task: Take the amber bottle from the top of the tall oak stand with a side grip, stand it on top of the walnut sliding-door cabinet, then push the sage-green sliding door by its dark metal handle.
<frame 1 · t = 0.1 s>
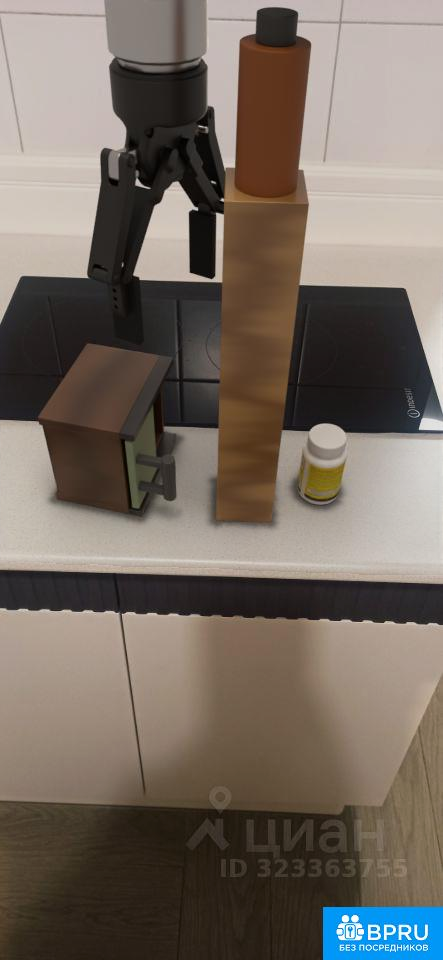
hand: (168, 305, 66), 20 cm above the counter, tool pointing down, fingers open, 13 cm apart
supplement bottle: (317, 491, 76), on the counter
sliding door: (160, 459, 70), point 6 cm above the counter, slide at 0.0 cm
cabinet: (115, 466, 78), on the counter
stand: (243, 500, 74), on the counter
amber bottle: (265, 184, 49), point 35 cm above the counter, touching stand
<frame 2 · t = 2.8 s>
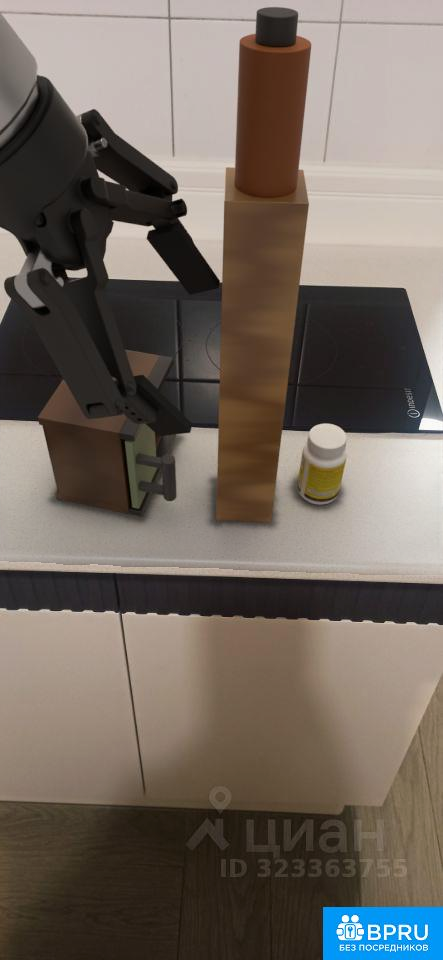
hand: (191, 355, 51), 25 cm above the counter, tool tilted 30°, fingers open, 12 cm apart
nothing on the counter moved.
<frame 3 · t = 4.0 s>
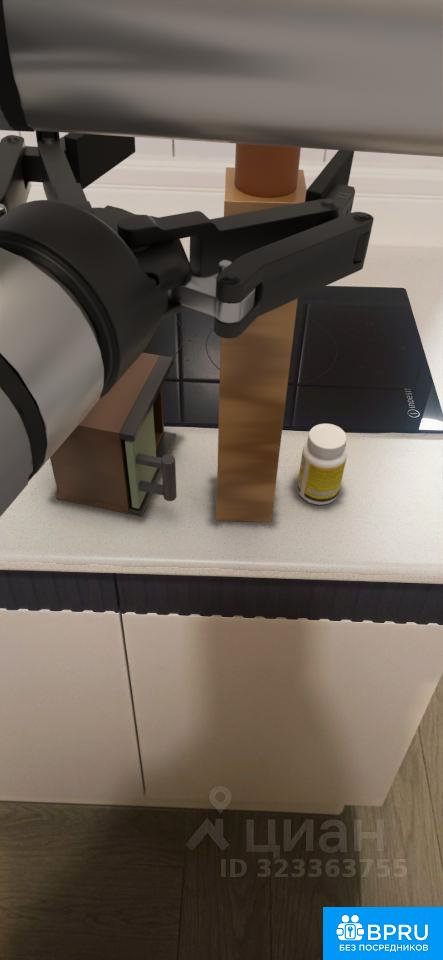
hand: (232, 149, 39), 40 cm above the counter, tool horizontal, fingers open, 13 cm apart
nothing on the counter moved.
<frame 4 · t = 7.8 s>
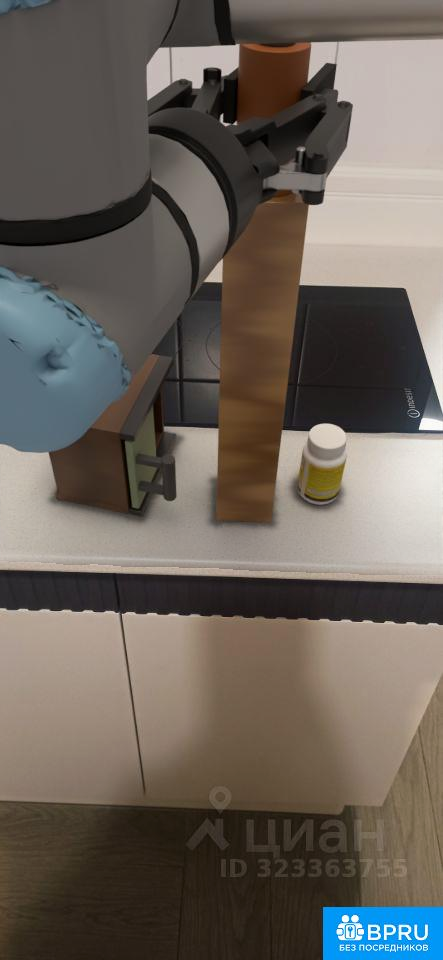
hand: (293, 80, 48), 40 cm above the counter, tool horizontal, fingers closed on amber bottle, 5 cm apart
amber bottle: (265, 184, 49), point 35 cm above the counter, touching gripper, stand
everything else where it was.
when the fingers open (17 cm above the counter, at t = 16.5 s): amber bottle stays where it is, resting on cabinet.
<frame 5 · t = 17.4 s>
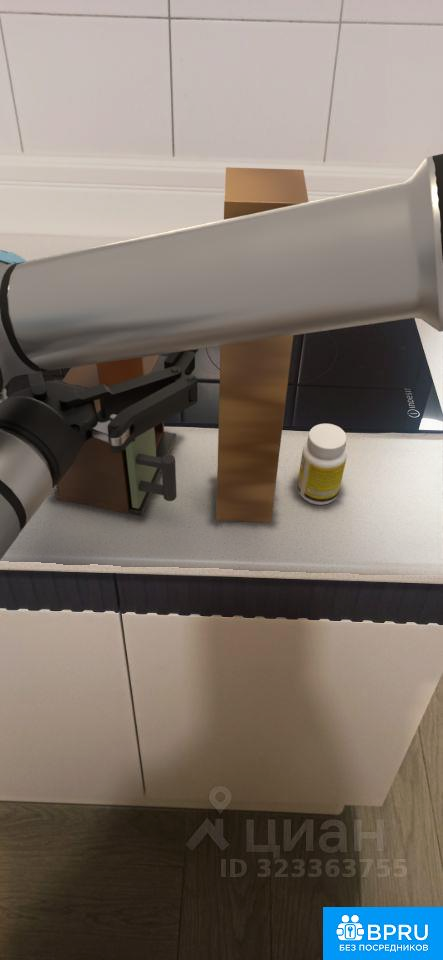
hand: (132, 321, 66), 18 cm above the counter, tool horizontal, fingers open, 13 cm apart
amber bottle: (122, 388, 69), point 12 cm above the counter, touching cabinet
everything else where it was.
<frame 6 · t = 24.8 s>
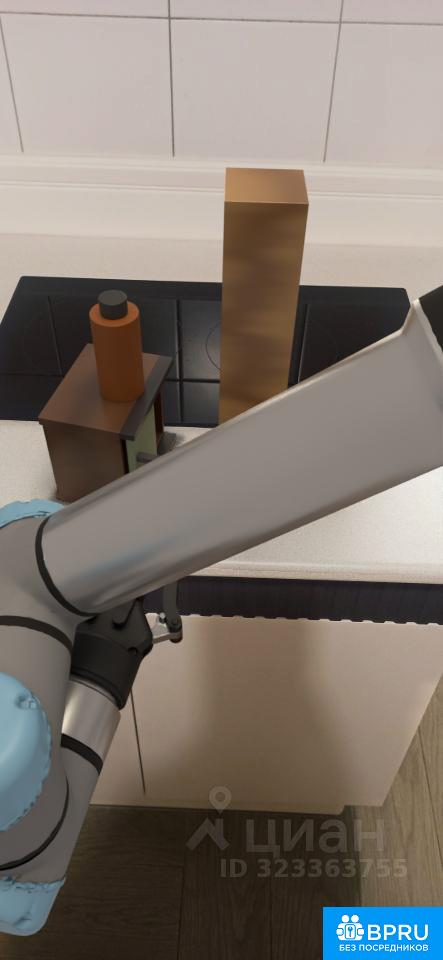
hand: (166, 483, 68), 6 cm above the counter, tool horizontal, fingers closed
sliding door: (161, 457, 70), point 6 cm above the counter, slide at 0.3 cm, touching gripper
everything else where it was.
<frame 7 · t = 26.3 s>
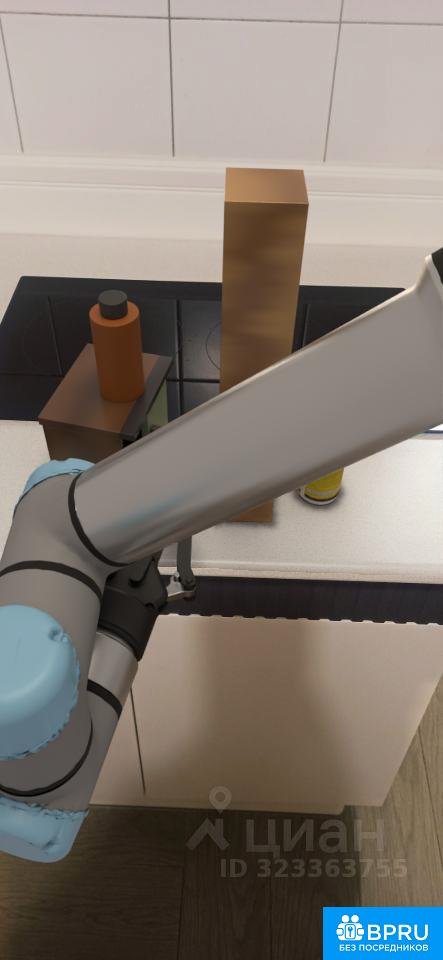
hand: (178, 454, 71), 6 cm above the counter, tool horizontal, fingers closed
sliding door: (172, 431, 73), point 6 cm above the counter, slide at 4.5 cm, touching gripper
everything else where it was.
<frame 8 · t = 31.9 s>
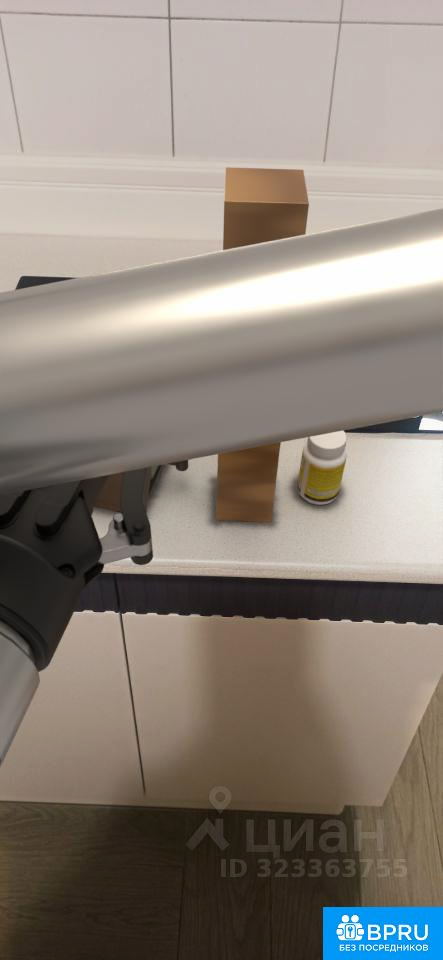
hand: (137, 349, 46), 28 cm above the counter, tool horizontal, fingers closed
sliding door: (172, 431, 73), point 6 cm above the counter, slide at 4.5 cm
everything else where it was.
at the end: sliding door slide at 4.5 cm; amber bottle inside the target area on the cabinet (0.4 cm from its centre), point 12.0 cm above the cabinet's base; amber bottle tilted 0° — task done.
